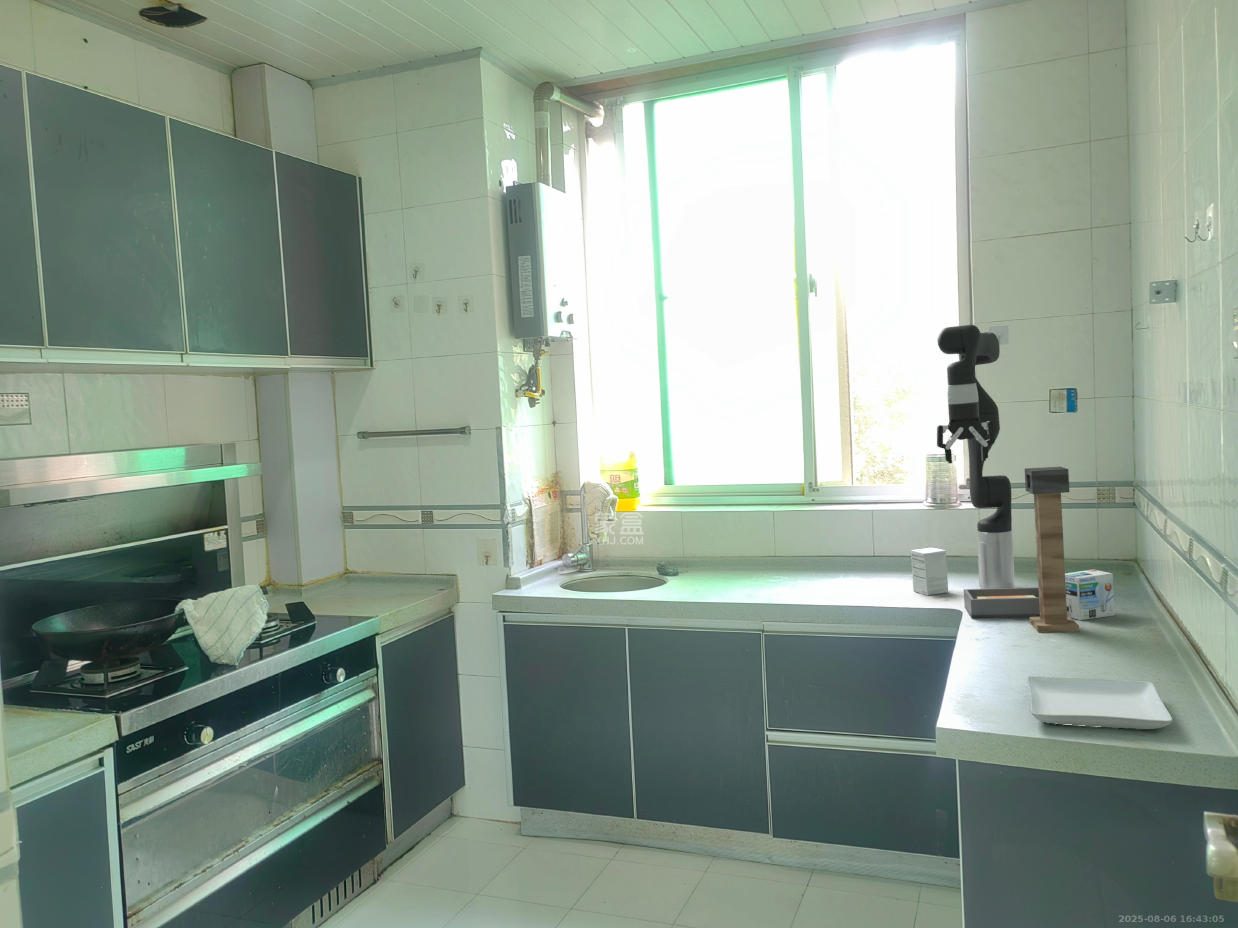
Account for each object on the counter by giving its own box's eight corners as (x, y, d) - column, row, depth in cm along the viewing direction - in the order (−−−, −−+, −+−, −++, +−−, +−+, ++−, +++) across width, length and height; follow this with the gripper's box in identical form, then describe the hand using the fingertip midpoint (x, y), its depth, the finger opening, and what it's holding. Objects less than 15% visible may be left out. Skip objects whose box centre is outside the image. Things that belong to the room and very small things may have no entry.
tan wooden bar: (977, 607, 238) (976, 596, 238) (1034, 606, 235) (1033, 595, 235) (979, 610, 235) (978, 599, 235) (1036, 609, 232) (1036, 597, 232)
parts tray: (964, 607, 244) (963, 589, 243) (1044, 605, 239) (1043, 587, 239) (971, 618, 231) (970, 599, 231) (1056, 617, 226) (1055, 597, 226)
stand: (1029, 622, 223) (1021, 468, 221) (1069, 622, 220) (1061, 466, 218) (1037, 631, 214) (1029, 471, 212) (1079, 631, 212) (1071, 469, 210)
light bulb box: (1080, 621, 221) (1078, 577, 221) (1060, 615, 228) (1058, 573, 227) (1116, 615, 224) (1114, 572, 223) (1095, 610, 230) (1093, 568, 230)
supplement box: (934, 588, 270) (931, 546, 269) (949, 592, 263) (946, 550, 262) (912, 591, 268) (910, 549, 268) (927, 595, 261) (924, 552, 260)
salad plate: (1175, 739, 146) (1174, 718, 146) (1032, 731, 154) (1031, 711, 154) (1152, 697, 165) (1151, 679, 165) (1026, 692, 173) (1025, 675, 173)
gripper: (988, 398, 241) (992, 458, 242) (932, 403, 244) (936, 462, 245) (994, 399, 233) (998, 461, 235) (937, 404, 236) (940, 465, 238)
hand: (966, 461), depth 240 cm, fingers open, 8 cm apart
